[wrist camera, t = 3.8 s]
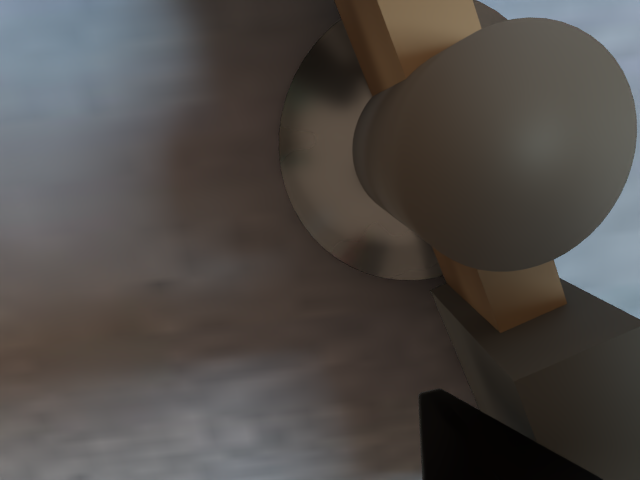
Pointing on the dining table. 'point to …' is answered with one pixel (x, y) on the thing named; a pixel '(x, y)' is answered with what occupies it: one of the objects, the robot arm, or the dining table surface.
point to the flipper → (508, 207)
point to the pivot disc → (344, 164)
